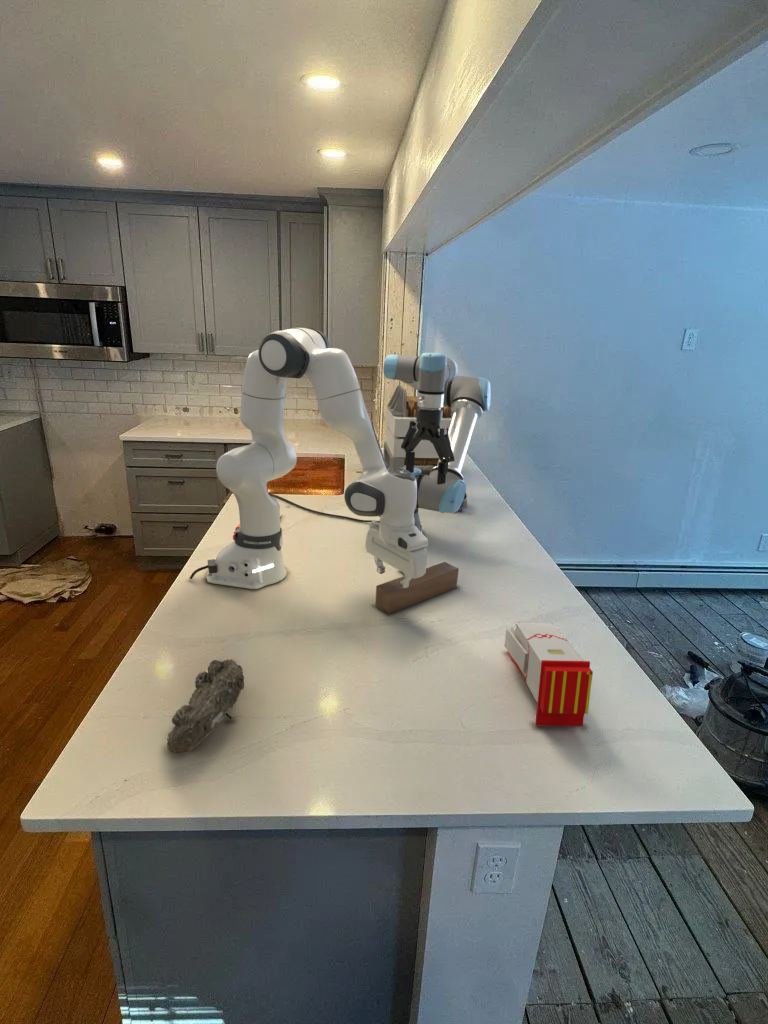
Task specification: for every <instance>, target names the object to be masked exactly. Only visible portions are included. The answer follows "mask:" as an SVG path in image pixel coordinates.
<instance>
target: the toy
mask: <svg viewBox="0 0 768 1024" xmlns="http://www.w3.org/2000/svg"><path fill="white" fill-rule="evenodd" d="M503 645H504V647H505V649H506V650H507V655H508V656H509V658H510V659H511V662H513V664H514V666H515V667H516V669H517V670H518V672H519V673H520V675H521V676H522V679H523V680H524V681H525V683H526V686H527V687H528V689H529V690H530V693H531V694H532V696H533V698H534V700H535V701H536V703H537V704H536V714H535V722H534V723H535V726H537V727H541V726H542V727H583V726H584V719H585V715H586V714H587V715H588V714H589V706H590V705H589V704H590V699H591V691H592V683H593V682H592V681H593V674H594V673H593V672H594V671H593V670H592V669H591V668H590V667H591V661H590V660H584V659H583V658H582V657H581V655H580V654H579V653H578V651H577V650H576V649H575V648H574V647H573V645H572V644H571V643H570V642H569V640H568V639H567V638H566V636H564V633H562V632H561V630H560V629H559V628H558V627H557V625H556V624H555V623H553V622H515V624H511V625H510V628H506V630H505V638H504V644H503Z"/></svg>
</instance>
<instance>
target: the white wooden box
mask: <svg viewBox="0 0 768 1024" xmlns="http://www.w3.org/2000/svg"><path fill="white" fill-rule="evenodd" d="M407 394H408V393H407V390H406V389H404V388H403V387H402V385H399V384H398V385H397V386H396V388H395V390H394V392H393V394H392V395H391V398H390V400H389V402H388V404H387V405H386V413H385V414H386V415H385V423H386V428H385V438H384V442H383V456H384V459H385V462H386V464H387V465H388V467H389V468H393V467H395V468H403V467H405V466H406V461H405V457H406V452H405V450H404V449H402V448H401V445H402V443H403V440H404V438H405V436H406V434H407V431H408V429H409V425H410V421H416V415H417V409H418V408H419V407H418V406H417V402H418V395H417V396H415V395H414V396H413V395H412V396H411V395H407ZM441 409H442V410H443V413H442V421H441V423H440V428H449V425H450V422H451V419H452V415H453V412H452V410H451V407H445V406H443V407H442V408H441ZM417 432H418V429H417V431H416V433H417ZM416 433H415V434H416ZM414 437H415V435H414ZM414 437H413V438H414ZM435 439H436V438H435ZM412 452H415V459H414V467H417V466H418V467H436V466H437V464H438V460H439V456H438V454H437V452H436V450H435V448H434V445H433V444H432V443H431V442H430V441H428V440H426V439H422V440H421V441H420V442H419V444H418V445H417V446H416V447H415V449H414V451H412Z"/></svg>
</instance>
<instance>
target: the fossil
mask: <svg viewBox="0 0 768 1024" xmlns="http://www.w3.org/2000/svg"><path fill="white" fill-rule="evenodd" d="M243 670H244V669H243V667H242V665H240V664H237V662H236V661H235V660H234V659H232V658H231V659H227V658H226V659H224V660H223V661H222V660H217V659H212V660H211V661H210V663H209V665H208V666H207V671H201V672H199V673H198V674H197V675H196V676H195V680H194V684H195V685H194V687H195V689H194V690H193V693H192V694H191V697H190V698H189V700H188V704H184V705H182V706H181V707H180V709H177V710H176V711H175V713H174V715H173V716H172V718H171V723H172V724H173V727H172V730H171V731H170V732H168V734H167V738H166V741H167V742H166V745H167V749H168V750H169V751H173V752H174V753H176V754H178V753H182V752H188V751H189V752H192V751H193V750H195V748H196V747H197V746H199V744H200V743H201V742H203V741H204V740H205V739H206V738H207V737H208V736H209V735H210V734H211V733H212V732H214V730H215V729H217V727H218V726H219V724H220V722H221V721H222V720H223V719H224V718H225V716H226V717H227V719H229V720H233V717H232V715H230V714H229V710H230V709H231V708H234V706H235V704H236V703H237V702H238V699H239V697H240V695H241V693H242V691H243V690H245V689H244V688H245V675H244V671H243Z"/></svg>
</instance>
